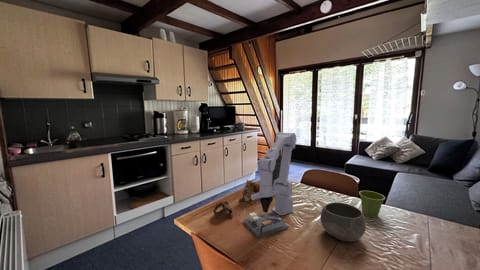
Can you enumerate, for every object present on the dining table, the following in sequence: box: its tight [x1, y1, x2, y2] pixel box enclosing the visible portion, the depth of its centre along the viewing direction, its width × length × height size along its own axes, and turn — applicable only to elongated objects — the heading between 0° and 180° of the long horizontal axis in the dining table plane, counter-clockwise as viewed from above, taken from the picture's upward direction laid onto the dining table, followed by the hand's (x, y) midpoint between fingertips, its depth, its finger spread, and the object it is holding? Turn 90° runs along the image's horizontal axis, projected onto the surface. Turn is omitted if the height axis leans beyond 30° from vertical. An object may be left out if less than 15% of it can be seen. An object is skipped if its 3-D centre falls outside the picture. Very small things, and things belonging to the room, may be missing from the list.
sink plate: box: [242, 212, 289, 239], centre depth 100 cm, size 17×14×4 cm
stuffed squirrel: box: [238, 179, 260, 206], centre depth 128 cm, size 10×14×13 cm
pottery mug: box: [212, 200, 234, 219], centre depth 109 cm, size 12×10×8 cm
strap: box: [256, 213, 282, 221], centre depth 98 cm, size 14×3×1 cm, turn 117°
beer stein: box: [272, 155, 283, 187], centre depth 148 cm, size 16×19×25 cm
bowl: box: [320, 202, 367, 242], centre depth 91 cm, size 18×18×13 cm
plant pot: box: [358, 190, 386, 218], centre depth 110 cm, size 12×12×11 cm
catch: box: [248, 212, 260, 222], centre depth 100 cm, size 3×6×3 cm, turn 26°
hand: (265, 211), depth 97 cm, fingers closed
